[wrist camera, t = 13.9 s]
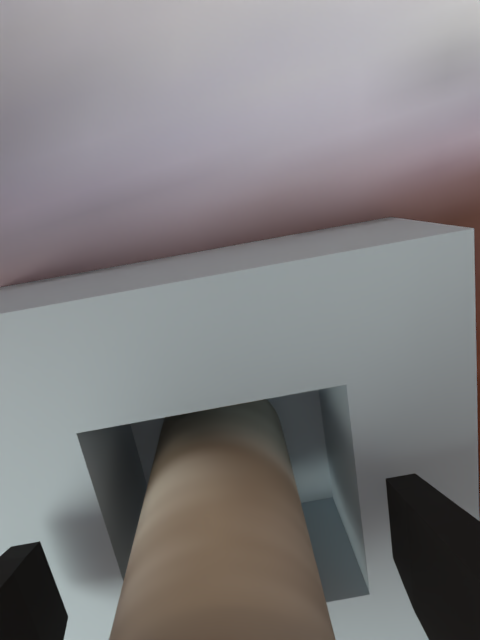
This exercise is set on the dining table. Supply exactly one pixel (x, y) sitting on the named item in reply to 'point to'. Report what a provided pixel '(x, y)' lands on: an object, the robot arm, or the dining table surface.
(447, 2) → the dining table surface
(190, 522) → the tan wooden peg
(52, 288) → the socket block
